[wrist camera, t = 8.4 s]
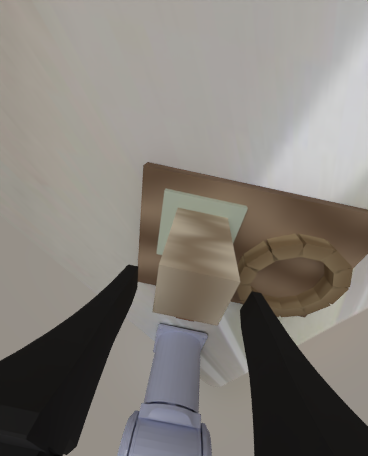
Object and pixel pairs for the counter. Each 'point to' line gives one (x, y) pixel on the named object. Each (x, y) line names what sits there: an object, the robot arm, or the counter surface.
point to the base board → (267, 239)
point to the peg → (197, 268)
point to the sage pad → (198, 204)
